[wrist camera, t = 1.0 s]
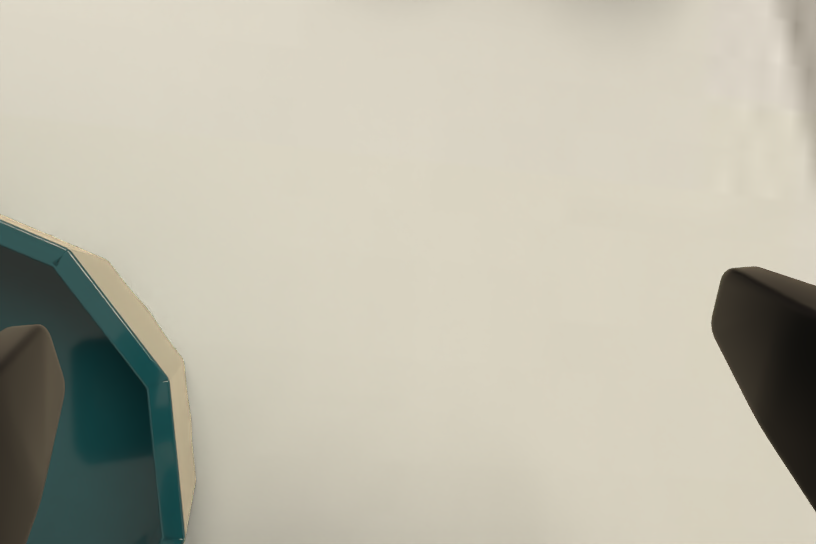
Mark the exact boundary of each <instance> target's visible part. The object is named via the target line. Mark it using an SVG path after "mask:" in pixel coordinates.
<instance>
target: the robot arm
mask: <svg viewBox="0 0 816 544" xmlns="http://www.w3.org/2000/svg"><path fill="white" fill-rule="evenodd" d="M711 326H712V332H713V335H714V338H715V340H716V342H717V344H718V346H719V348H720V350H721V352H722V353H723V355H724V357H725V359H726V361H727V363H728V365H729V367H730V369H731V371H732V373H733V375H734V377H735V379H736V381H737V383H738V385H739V387H740V389H741V391H742V393H743V395H744V397H745V399H746V401H747V403H748V405H749V407H750V409H751V410H752V412H753V414H754V416H755V418H756V419H757V421H758V423H759V425H760V426H761V428H762V430H763V431H764V433H765V435H766V436H767V438H768V439H769V441H770V442H771V444H772V446H773V447H774V449H775V450H776V452H777V453H778V455H779V456H780V458H781V459H782V461H783V462H784V464H785V465H786V467H787V469H788V470H789V472H790V473H791V475H792V476H793V478H794V479H795V481H796V482H797V484H798V485H799V487H800V488H801V490H802V492H803V493H804V495H805V496H806V498H807V499H808V501H809V502H810V504H811V505H812V507H813V508H814V510H815V511H816V286H815V285H812V284H809V283H806V282H803V281H800V280H797V279H793V278H790V277H787V276H784V275H781V274H778V273H775V272H772V271H769V270H766V269H763V268H760V267H740V268H731V269H729V270H727V271H726V272H725V273H724V274H723V276H722V278H721V281H720V285H719V289H718V294H717V298H716V302H715V306H714V311H713V315H712V322H711ZM64 394H65V382H64V377H63V373H62V370H61V367H60V364H59V361H58V358H57V355H56V351H55V348H54V345H53V342H52V339H51V336H50V333H49V332H48V330H47V329H46V328H45V327H44V326H42V325H38V324H35V325H22V326H11V327H8V328H5V329H4V330H2V331H0V544H26V543H27V540H28V537H29V534H30V531H31V528H32V526H33V523H34V520H35V517H36V514H37V511H38V508H39V505H40V501H41V498H42V494H43V490H44V486H45V482H46V477H47V473H48V468H49V464H50V459H51V454H52V450H53V445H54V441H55V436H56V432H57V427H58V422H59V418H60V413H61V409H62V404H63V400H64Z"/></svg>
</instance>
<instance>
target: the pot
mask: <svg viewBox="0 0 816 544" xmlns="http://www.w3.org/2000/svg"><path fill="white" fill-rule="evenodd" d="M35 324H38V325H42V326H44V327H45V328H46V329H47V330H48V332H49V333H50V336H51V339H52V342H53V345H54V348H55V351H56V355H57V358H58V361H59V364H60V367H61V370H62V373H63V377H64V382H65V394H64V400H63V404H62V409H61V413H60V418H59V422H58V427H57V432H56V436H55V441H54V445H53V450H52V454H51V459H50V464H49V468H48V473H47V477H46V482H45V486H44V490H43V494H42V498H41V501H40V505H39V508H38V511H37V514H36V517H35V520H34V523H33V526H32V528H31V531H30V534H29V537H28V540H27V543H26V544H184V542H185V537H186V532H187V526H188V521H189V516H190V510H191V505H192V500H193V494H194V489H195V483H196V475H195V465H194V455H193V445H192V428H191V414H190V408H189V402H188V396H187V386H186V376H185V366H184V361H183V358H182V357H181V355H180V354H179V353H178V352H177V350H176V349H175V348H174V346H173V345H172V344H171V342H170V341H169V340H168V338H167V337H166V336H165V334H164V333H163V331H162V330H161V328H160V327H159V325H158V324H157V322H156V321H155V319H154V318H153V316H152V314H151V313H150V311H149V310H148V309H147V308H146V307H145V305H144V304H143V303H142V302H141V301H140V300H139V299H138V297H137V296H136V295H135V294H134V293H133V292H132V291H131V289H130V288H129V287H128V286H127V285H126V283H125V282H124V281H123V279H122V278H121V277H120V275H119V274H118V273H117V271H116V270H115V269H114V268H113V266H112V265H111V264H110V262H109V261H107V260H106V259H104V258H102V257H99V256H97V255H95V254H92V253H90V252H88V251H85V250H83V249H81V248H78V247H76V246H74V245H71V244H69V243H67V242H64V241H62V240H60V239H57V238H55V237H53V236H51V235H49V234H46V233H43V232H41V231H38V230H36V229H34V228H31V227H29V226H27V225H24V224H22V223H20V222H17V221H15V220H13V219H10V218H8V217H6V216H3V215H1V214H0V331H2V330H4V329H5V328H8V327H11V326H22V325H35Z"/></svg>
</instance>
